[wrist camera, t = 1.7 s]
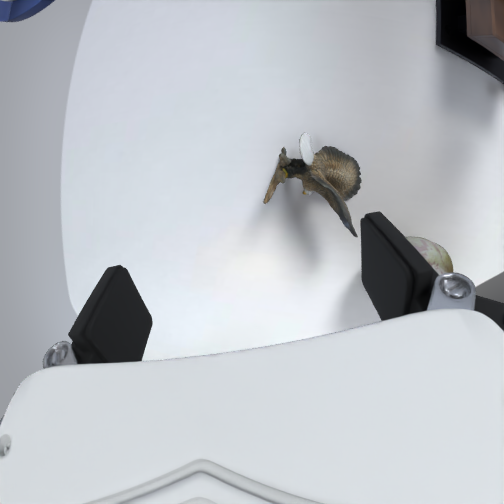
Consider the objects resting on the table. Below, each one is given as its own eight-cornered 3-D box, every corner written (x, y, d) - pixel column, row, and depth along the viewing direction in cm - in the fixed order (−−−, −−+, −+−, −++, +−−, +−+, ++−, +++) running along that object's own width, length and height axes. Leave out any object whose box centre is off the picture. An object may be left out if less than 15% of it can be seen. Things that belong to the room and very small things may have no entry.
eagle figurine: (258, 212, 28) (345, 245, 28) (265, 192, 20) (377, 236, 21) (283, 144, 28) (363, 176, 28) (295, 108, 21) (395, 151, 21)
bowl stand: (432, -48, 12) (453, -58, 8) (505, 1, 13) (527, -1, 9) (435, 44, 19) (462, 42, 15) (507, 86, 20) (532, 91, 16)
